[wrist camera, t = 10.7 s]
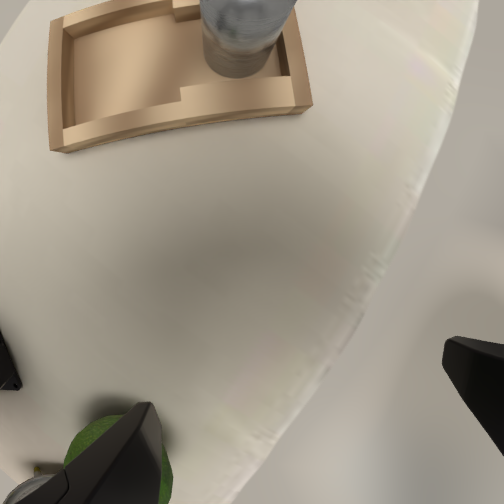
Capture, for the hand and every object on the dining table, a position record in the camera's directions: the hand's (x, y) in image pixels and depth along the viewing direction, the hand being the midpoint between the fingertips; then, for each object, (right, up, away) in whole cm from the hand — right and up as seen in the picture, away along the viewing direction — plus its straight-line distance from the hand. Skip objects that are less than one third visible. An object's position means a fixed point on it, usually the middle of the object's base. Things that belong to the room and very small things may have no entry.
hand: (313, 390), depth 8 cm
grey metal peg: (-3, +16, +9) cm, 18 cm away
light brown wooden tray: (-7, +16, +9) cm, 19 cm away
